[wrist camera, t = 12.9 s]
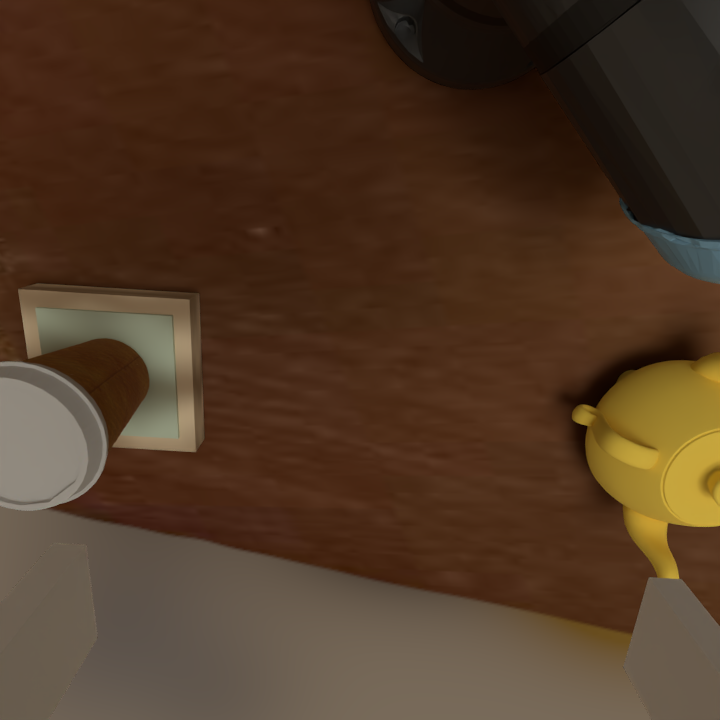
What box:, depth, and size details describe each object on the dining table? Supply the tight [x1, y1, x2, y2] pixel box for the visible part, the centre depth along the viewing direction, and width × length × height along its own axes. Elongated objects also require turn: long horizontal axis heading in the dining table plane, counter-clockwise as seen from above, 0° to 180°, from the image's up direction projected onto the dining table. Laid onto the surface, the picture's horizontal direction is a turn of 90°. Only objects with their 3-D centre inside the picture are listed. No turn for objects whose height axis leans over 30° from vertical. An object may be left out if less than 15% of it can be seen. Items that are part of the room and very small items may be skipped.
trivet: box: [18, 283, 205, 452], centre depth 43 cm, size 13×13×3 cm
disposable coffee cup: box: [0, 338, 149, 511], centre depth 36 cm, size 10×10×12 cm
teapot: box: [572, 352, 720, 579], centre depth 40 cm, size 20×15×12 cm
